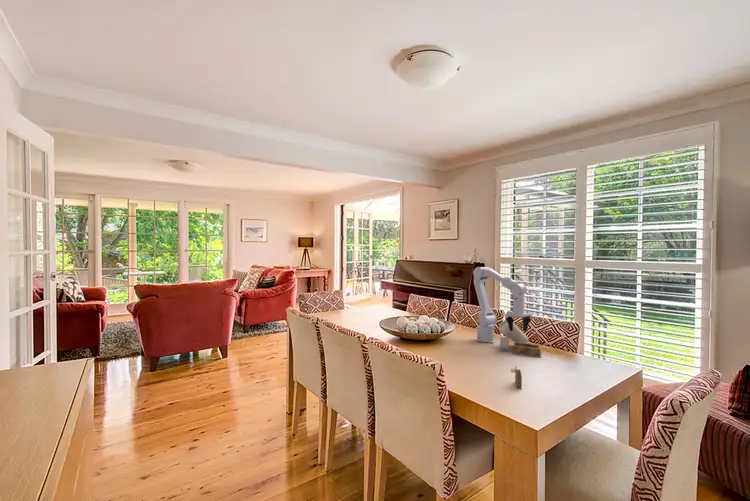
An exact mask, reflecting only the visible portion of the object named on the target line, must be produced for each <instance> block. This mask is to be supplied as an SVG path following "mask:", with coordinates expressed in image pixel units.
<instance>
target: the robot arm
mask: <svg viewBox="0 0 750 501" xmlns="http://www.w3.org/2000/svg"><path fill="white" fill-rule="evenodd" d="M472 274H473V285H474V289H475V293H476V296H477V300H478V305H479V308H480V311H479V312H478V323H479V324H477V328H476V329H477V330H476V332H477V334H476V336H477V337H476V342H483V343H490V344H494V343H495V341H496V338H495V325H496V324H497V321H498V319H497V316H496V315H495V312H494V311H493V310H492V309H491V307H490V303H489V299H488V296H487V292H486V287H485V284H484V283H485V281H486V280H488V279H489V278H492V279H494V280H496V281H498V282H500V283H501V286H502V287H504V288H505V289H507V290H508V291H510V292H511V294H512V295H511V296H512V312H511V313H508V312H507V313H504V318H505V320H507V322H508V325H509V329H510V331H513V323H514V321H515V318H522V331H524V332H527V329H528V326H529V324H530V322H531V321H532V318H533V314H532V313H527V312H526V313H525V294H526V293H527V287H526V285H525V284H524V283H521V282H520V283H519V281H517V280H514V279H512V277H511V276H503V275H502V274H500V273H499V272H497V271H496V270H494V268H492V267H490V266H477V267H475V268H474V270H473V271H472ZM513 318H514V319H513Z"/></svg>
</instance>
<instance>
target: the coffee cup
mask: <svg viewBox="0 0 750 501" xmlns="http://www.w3.org/2000/svg"><path fill="white" fill-rule="evenodd" d="M498 330H499V332H500V334H501V335H504V337H507V338H509V339H510V340H511V341H512V342H519V343H527V344H528V342H529V337H528V336H527V335H526V334H525V333H524V332H523V330H521V329H520V328H519V327H518V326H517V325H516V324H515V323H514V322H513V331H510V329H509V325H508V322H507V320H506V319H505V320H502V322H500V324H499V326H498Z"/></svg>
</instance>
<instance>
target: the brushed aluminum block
mask: <svg viewBox="0 0 750 501" xmlns="http://www.w3.org/2000/svg"><path fill="white" fill-rule="evenodd" d="M509 339H510V338H508V337H507V336H500V337H499V344H500V345H499V351H500V352H507V353H508V352H509V349H510V348H509V347H510V346H509V342H510V341H509Z"/></svg>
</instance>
